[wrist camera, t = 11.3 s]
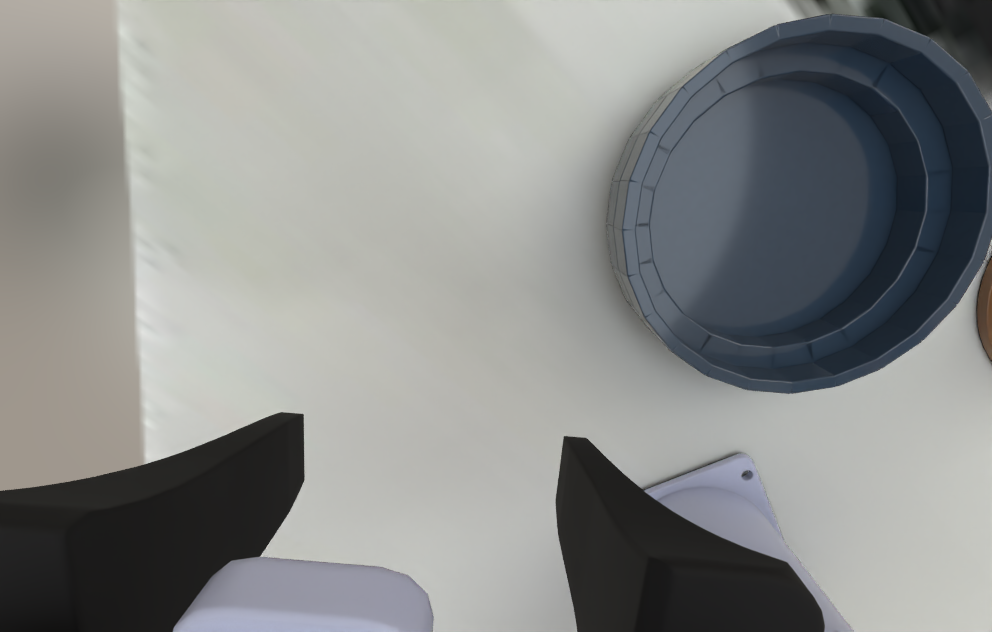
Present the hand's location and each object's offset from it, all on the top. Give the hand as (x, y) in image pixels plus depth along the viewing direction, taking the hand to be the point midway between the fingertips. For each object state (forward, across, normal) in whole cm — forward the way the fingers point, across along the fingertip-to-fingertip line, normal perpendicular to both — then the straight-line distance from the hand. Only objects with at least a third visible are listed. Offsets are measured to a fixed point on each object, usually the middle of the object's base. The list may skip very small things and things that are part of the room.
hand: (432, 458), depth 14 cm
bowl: (+9, -12, -7) cm, 17 cm away
